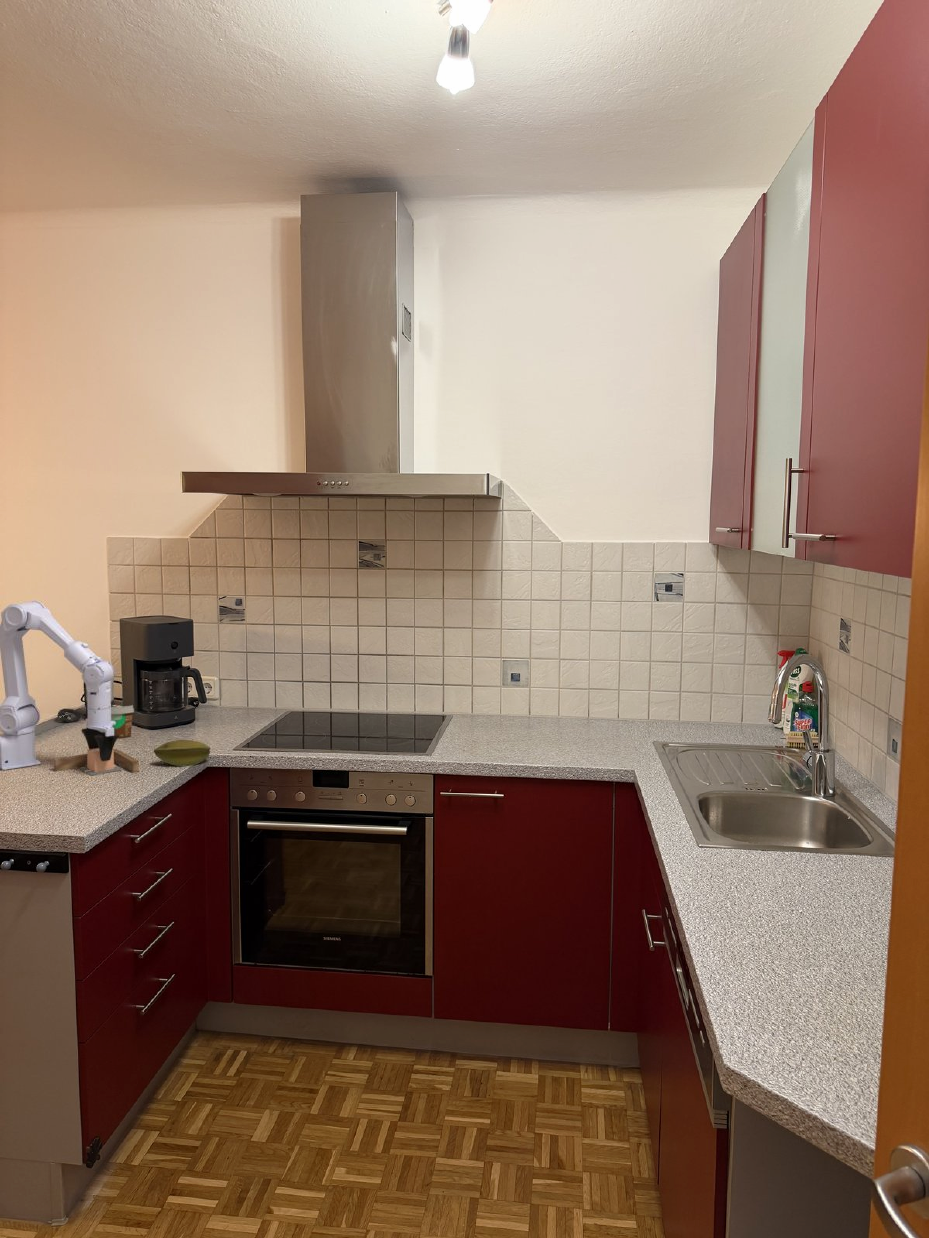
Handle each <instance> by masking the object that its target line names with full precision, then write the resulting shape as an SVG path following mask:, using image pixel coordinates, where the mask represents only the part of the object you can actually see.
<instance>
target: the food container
mask: <svg viewBox="0 0 929 1238" xmlns="http://www.w3.org/2000/svg"><path fill="white" fill-rule="evenodd" d="M133 713H135V709H134V705H133V704H132V705H122V704H114V705H111V721H115V722H116V724H115V725H112V727H113V728H114V734H118V738H117V740H118V739H119V740H120V739H127V738H128V739H129V738H131V737H132V726H133Z"/></svg>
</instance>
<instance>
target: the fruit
mask: <svg viewBox="0 0 929 1238" xmlns="http://www.w3.org/2000/svg"><path fill="white" fill-rule="evenodd" d="M153 753H154V755H155V756H156V757H157V758H158V759H160V760H161V761H163V762H164V763H167V764H169V765H172V766H174V767H175V766H176V767H191V766H196V765H198V764H200V763H201V762H203V761H205V760H206V759H208V757H209V756H210V753H211V747H210V746H208V745H206V744H205V743H204V742H200V741H197V740H189V739H179V740H173V741H168V742H165V743H163V744H161V745H159V747H157V748H155V749H153Z"/></svg>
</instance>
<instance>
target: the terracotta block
mask: <svg viewBox="0 0 929 1238" xmlns="http://www.w3.org/2000/svg"><path fill="white" fill-rule="evenodd" d="M86 754H87V766H86V767H88V769H90V770H92V771H94V772H99V771H105V770H110V769H114V765H115V762H114V751H113V750H112V755H111V759H110V760H108V761H101V758H100V752H99V748H95V749H89V748H88V749H86Z"/></svg>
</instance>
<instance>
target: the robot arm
mask: <svg viewBox="0 0 929 1238" xmlns="http://www.w3.org/2000/svg"><path fill="white" fill-rule="evenodd" d="M0 616H1V621H0V659H1V667H2V669H1V670H2V676H3V677H2V679H3V683H4V685H3V686H4V692H5V699H3V701H2V702H1V704H0V730H1V732H2V733H1V734H0V769H1V770H2V771H7V770H13V769H20V768H26V767H32V766H36V765H38V766H39V765H41V764H42V763H41V761H39V760H38V759H36V736H35V733H36V731H35V730H36V728H37V726H36V725H38V723H39V721H40V719H41V714H40V710H39V708H38V707H37V704H36V700H35V698H33V697H32V696H31V695H30V693H29V687H28V677H27V669H26V660H25V652H24V650H25V649H24V644H23V643H24V642H23V637H24V636H25V635H26V634H27V633H28V632H29V631H30V630H34V631H41V632H42V633H43V634H45V636H47V637H48V638H49V639H50V640H52V641H53V642H54V643H55V644H57V645H58V646H59V647H60V648H61V649H62V650H63V651H64V652H63V656H64V658H65V659H66V660H67V661H68V662H70V664H72V665H73V666H74V667H75V668H76V669H77V670H78V671H79V672H80V673H81V678H82V681H83V683H84V682H85V684H86V690H87V707H88V719H85V726H86V728H82V729H81V733H82V734H83V736H84V737H85V740H86V743H87V746H88V747H87V748H88V750H89V749H95V748H99V752H100V758H101V761H108V760H110V759H111V755H112V750H113V749H114V747H115V744H116V742H117V740H118V739H117V738H118V734H114V728H113V727H112V725H115V724H116V722H115V721H111V686H110V680H111V679H112V678H113V677H114V676H115V675H114V674H115V668H114V665H113V664H112V663H111V662H110V660H109V661H108V660H106V659H104V660H103V659H102V658H101V657H100V656H97V654H95V652H93V651H92V650H91V648H89V643H88V644H87V643H86V642H82V640H81V641H80V640H77V641H76V640H74V639H73V638H72V637H71V635H70V634H69V633H68V632H67V631H66V630H65V628H63V626H61V624H60V623H59V622H58V621H57V620H56V619H55V617H53V616H52V613H51V610H50V609H48V608H47V607H45V605H44V604H43V603H42V602H40V601H37V600H33V601H28V602H22V603H12V604H8V606H6V607H5V608H4V609H3V610H2V611H1V612H0ZM114 678H115V677H114Z"/></svg>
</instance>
